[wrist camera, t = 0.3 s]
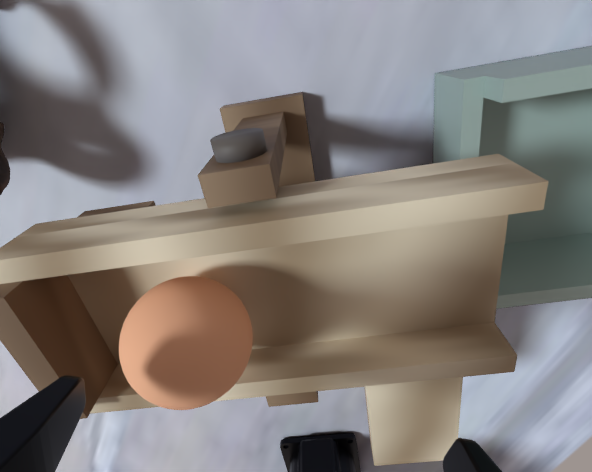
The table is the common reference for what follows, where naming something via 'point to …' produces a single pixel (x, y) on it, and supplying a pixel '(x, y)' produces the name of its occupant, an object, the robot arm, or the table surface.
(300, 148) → the lever stand
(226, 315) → the ball
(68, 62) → the table surface
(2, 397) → the table surface
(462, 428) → the table surface
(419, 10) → the table surface
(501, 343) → the tipping lever
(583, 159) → the bin
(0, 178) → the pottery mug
